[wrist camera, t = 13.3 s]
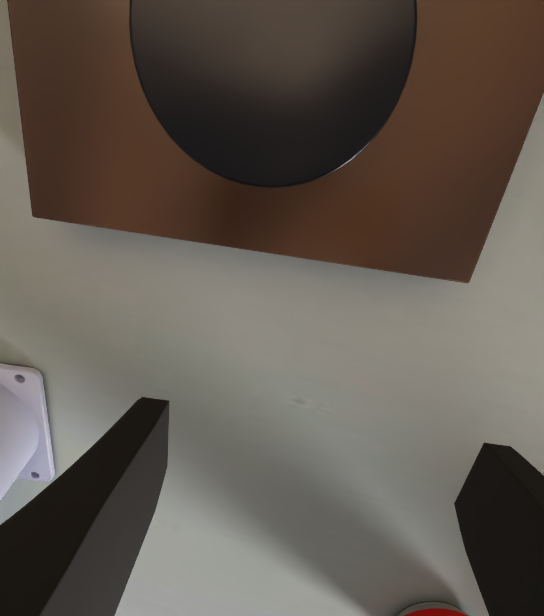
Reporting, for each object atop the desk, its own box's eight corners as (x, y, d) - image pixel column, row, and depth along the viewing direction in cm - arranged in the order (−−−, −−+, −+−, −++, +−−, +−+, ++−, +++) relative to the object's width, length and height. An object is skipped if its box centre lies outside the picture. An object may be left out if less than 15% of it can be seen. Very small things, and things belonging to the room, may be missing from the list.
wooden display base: (70, 198, 18) (-12, 238, 13) (40, -213, 12) (-119, -402, 8) (443, 255, 18) (497, 315, 14) (574, -117, 13) (742, -240, 8)
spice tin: (224, 171, 14) (187, 216, 9) (166, -14, 12) (76, -86, 7) (381, 127, 13) (433, 150, 8) (350, -81, 11) (396, -217, 6)
